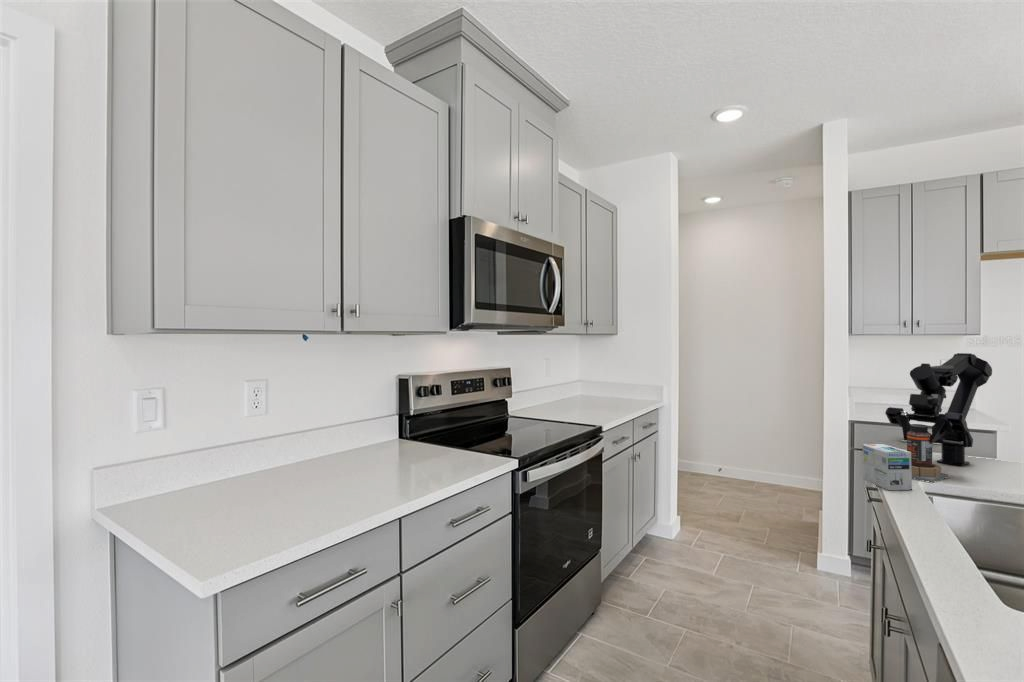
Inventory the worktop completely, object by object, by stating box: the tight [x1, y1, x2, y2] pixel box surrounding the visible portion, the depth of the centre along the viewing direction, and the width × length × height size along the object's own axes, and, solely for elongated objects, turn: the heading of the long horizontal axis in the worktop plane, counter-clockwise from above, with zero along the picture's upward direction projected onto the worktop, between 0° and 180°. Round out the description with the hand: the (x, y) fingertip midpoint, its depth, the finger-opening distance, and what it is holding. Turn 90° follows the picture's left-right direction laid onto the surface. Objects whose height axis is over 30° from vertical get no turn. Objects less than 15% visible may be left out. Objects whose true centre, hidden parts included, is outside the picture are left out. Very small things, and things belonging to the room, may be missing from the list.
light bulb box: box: [862, 443, 913, 491], centre depth 143 cm, size 11×7×11 cm, turn 179°
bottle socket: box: [911, 462, 949, 483], centre depth 150 cm, size 10×10×4 cm
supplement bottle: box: [906, 423, 933, 465], centre depth 150 cm, size 6×6×11 cm
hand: (917, 441), depth 149 cm, fingers closed on supplement bottle, 6 cm apart
